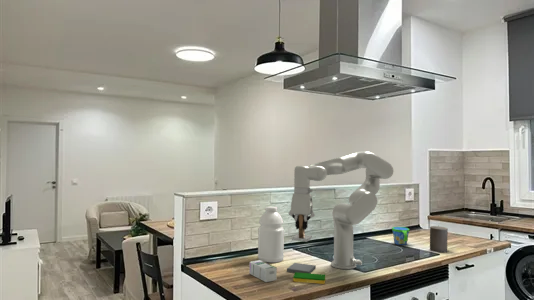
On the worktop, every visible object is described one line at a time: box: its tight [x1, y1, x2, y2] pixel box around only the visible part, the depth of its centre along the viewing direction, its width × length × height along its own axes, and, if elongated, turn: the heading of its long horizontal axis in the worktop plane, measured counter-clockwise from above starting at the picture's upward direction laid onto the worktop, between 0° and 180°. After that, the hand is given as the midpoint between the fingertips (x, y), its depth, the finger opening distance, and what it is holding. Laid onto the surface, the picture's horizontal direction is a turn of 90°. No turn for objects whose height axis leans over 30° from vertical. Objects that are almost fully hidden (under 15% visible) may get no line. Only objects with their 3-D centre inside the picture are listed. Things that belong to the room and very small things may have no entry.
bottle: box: [257, 205, 285, 264], centre depth 195 cm, size 14×14×28 cm
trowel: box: [291, 214, 313, 242], centre depth 176 cm, size 8×6×13 cm
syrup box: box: [249, 259, 278, 283], centre depth 165 cm, size 6×6×14 cm
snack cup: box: [391, 226, 410, 246], centre depth 233 cm, size 16×10×10 cm
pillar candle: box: [429, 225, 449, 253], centre depth 217 cm, size 10×10×15 cm
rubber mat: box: [286, 262, 317, 274], centre depth 176 cm, size 11×11×2 cm
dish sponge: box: [292, 272, 326, 285], centre depth 161 cm, size 7×14×2 cm, turn 79°
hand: (301, 228), depth 176 cm, fingers closed on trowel, 3 cm apart
